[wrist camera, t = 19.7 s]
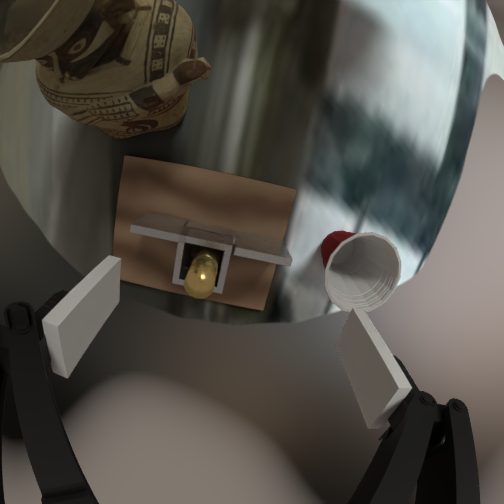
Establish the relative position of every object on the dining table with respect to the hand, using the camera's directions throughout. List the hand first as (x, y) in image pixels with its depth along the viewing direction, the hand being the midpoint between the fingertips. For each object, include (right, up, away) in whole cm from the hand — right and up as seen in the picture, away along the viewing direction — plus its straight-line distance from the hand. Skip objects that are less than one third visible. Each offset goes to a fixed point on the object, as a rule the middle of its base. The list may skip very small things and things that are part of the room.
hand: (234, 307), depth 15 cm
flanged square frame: (-9, +4, +28) cm, 29 cm away
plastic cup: (+15, +4, +30) cm, 34 cm away
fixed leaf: (-2, +3, +29) cm, 29 cm away
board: (-8, +6, +29) cm, 30 cm away
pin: (-5, +4, +28) cm, 29 cm away
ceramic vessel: (-15, +29, +21) cm, 38 cm away
